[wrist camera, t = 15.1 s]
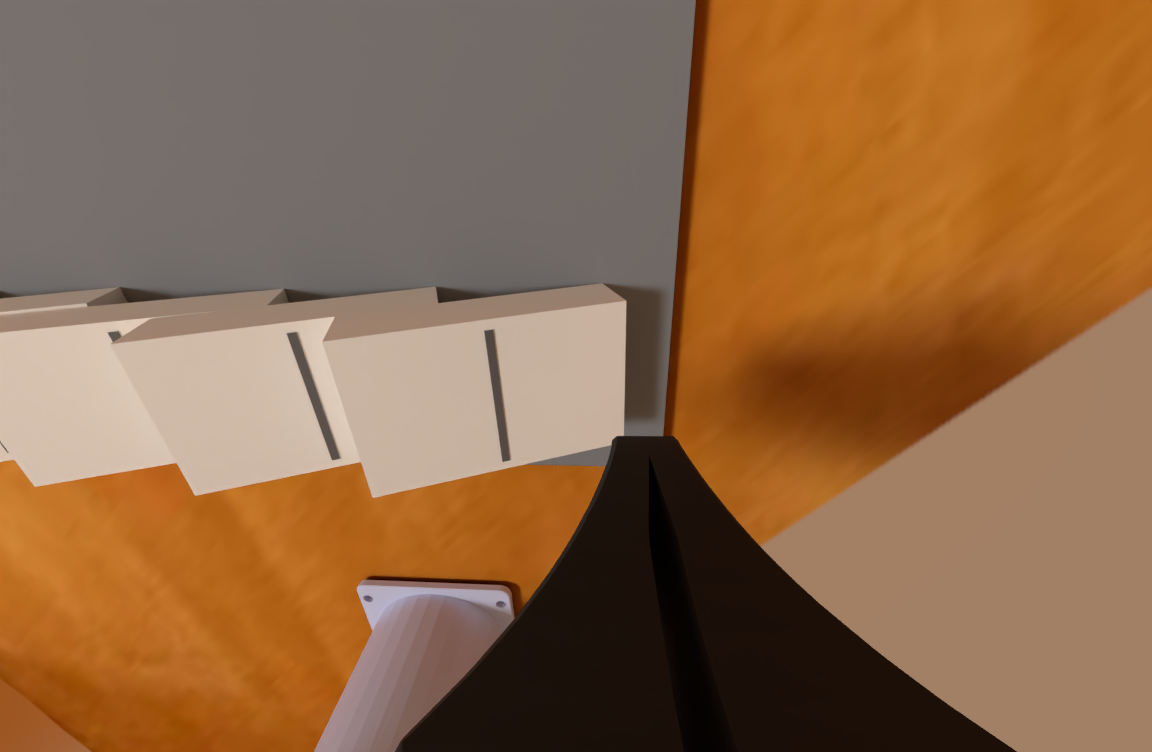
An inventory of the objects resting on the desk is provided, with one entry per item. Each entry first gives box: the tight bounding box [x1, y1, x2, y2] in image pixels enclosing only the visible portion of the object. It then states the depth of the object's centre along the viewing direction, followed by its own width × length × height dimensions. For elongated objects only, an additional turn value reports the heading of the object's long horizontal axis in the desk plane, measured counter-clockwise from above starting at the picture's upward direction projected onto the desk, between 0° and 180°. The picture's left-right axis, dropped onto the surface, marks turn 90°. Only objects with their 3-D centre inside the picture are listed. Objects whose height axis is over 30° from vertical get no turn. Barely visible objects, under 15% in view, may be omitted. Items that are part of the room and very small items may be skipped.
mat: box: [0, 0, 696, 466], centre depth 15 cm, size 16×26×1 cm, turn 92°
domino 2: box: [110, 287, 439, 496], centre depth 14 cm, size 2×5×8 cm
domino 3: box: [322, 283, 626, 498], centre depth 14 cm, size 2×5×8 cm
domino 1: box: [0, 289, 289, 487], centre depth 15 cm, size 2×5×8 cm
